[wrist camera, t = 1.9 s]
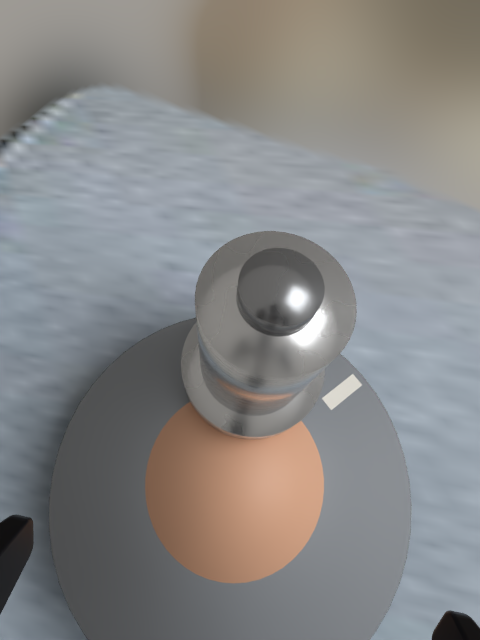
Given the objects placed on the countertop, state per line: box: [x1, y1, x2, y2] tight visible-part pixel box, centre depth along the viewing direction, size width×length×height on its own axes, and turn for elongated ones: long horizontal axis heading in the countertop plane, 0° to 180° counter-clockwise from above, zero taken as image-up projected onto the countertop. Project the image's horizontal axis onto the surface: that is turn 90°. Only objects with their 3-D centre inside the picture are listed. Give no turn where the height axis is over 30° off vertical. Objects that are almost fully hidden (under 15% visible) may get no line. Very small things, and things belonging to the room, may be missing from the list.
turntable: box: [49, 318, 412, 640], centre depth 20 cm, size 18×18×1 cm
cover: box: [181, 231, 357, 440], centre depth 17 cm, size 8×8×10 cm
